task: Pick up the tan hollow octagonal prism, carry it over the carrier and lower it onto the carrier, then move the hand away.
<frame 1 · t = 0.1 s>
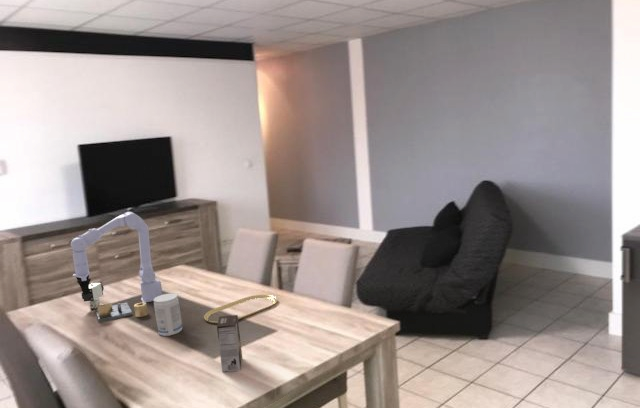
hand: (85, 292, 235), 10 cm above the table, fingers open, 6 cm apart
pneumatic valve: (94, 307, 245), on the table, touching gripper
supplement tub: (170, 332, 207), on the table
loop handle: (241, 311, 225), on the table
carrier: (113, 313, 234), on the table
tan hollow octagonal prism: (141, 314, 229), on the table
coffee box: (232, 365, 173), on the table
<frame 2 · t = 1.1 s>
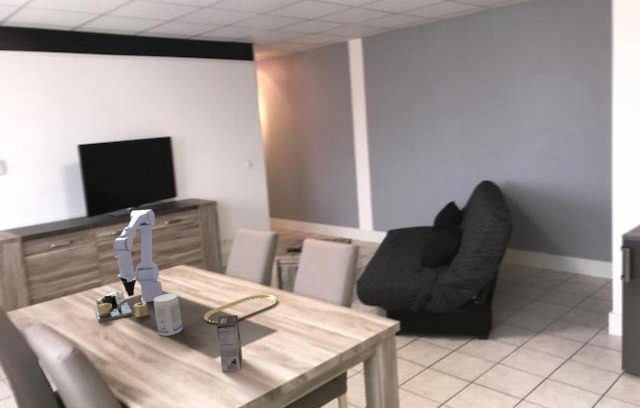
hand: (129, 293, 229), 10 cm above the table, fingers open, 7 cm apart
pneumatic valve: (97, 302, 244), point 2 cm above the table, touching carrier
everything else where it was.
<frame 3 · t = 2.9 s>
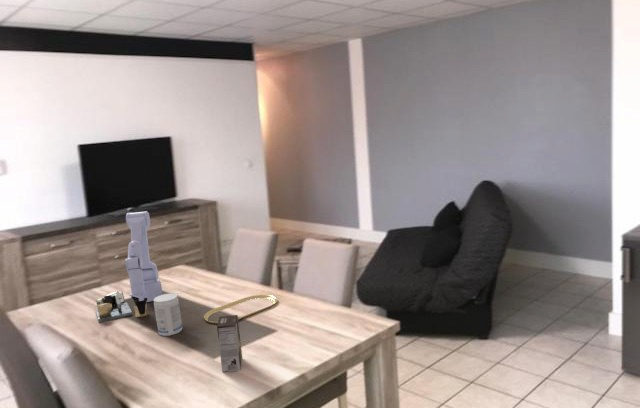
hand: (141, 311, 229), 1 cm above the table, fingers closed on tan hollow octagonal prism, 5 cm apart
tan hollow octagonal prism: (141, 314, 229), on the table, touching gripper
everything else where it was.
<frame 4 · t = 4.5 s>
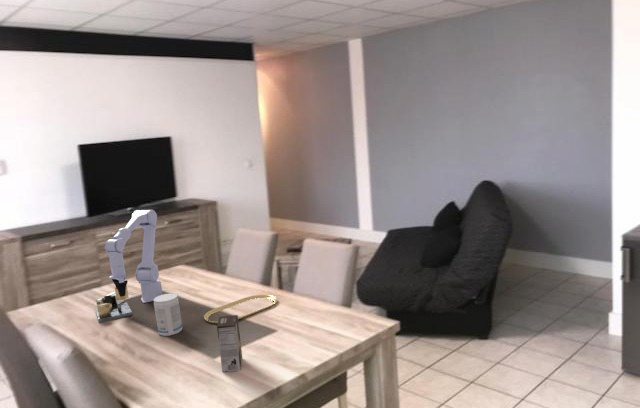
hand: (121, 294, 230), 9 cm above the table, fingers closed on tan hollow octagonal prism, 5 cm apart
tan hollow octagonal prism: (122, 298, 230), point 8 cm above the table, touching gripper
everything else where it was.
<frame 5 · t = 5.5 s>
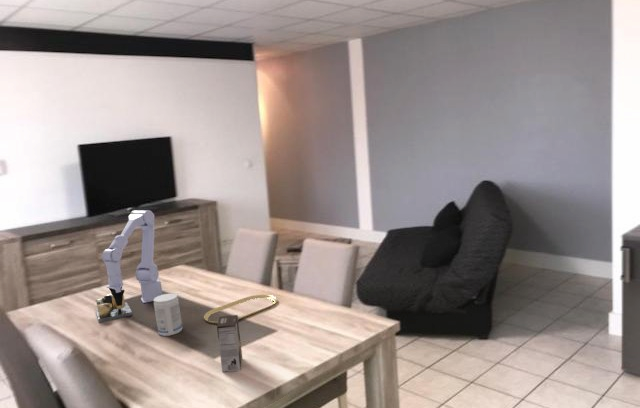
hand: (118, 303, 231), 5 cm above the table, fingers closed on tan hollow octagonal prism, 5 cm apart
tan hollow octagonal prism: (119, 307, 232), point 3 cm above the table, touching gripper
everything else where it was.
when the fingers open (4 cm above the table, at t = 6.1 s): tan hollow octagonal prism drops 1 cm, resting on carrier.
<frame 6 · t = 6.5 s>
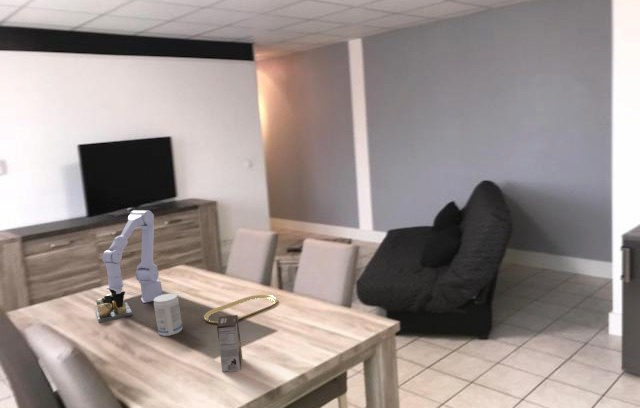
hand: (119, 304, 231), 4 cm above the table, fingers open, 7 cm apart
tan hollow octagonal prism: (120, 310, 232), point 1 cm above the table, touching carrier
everything else where it was.
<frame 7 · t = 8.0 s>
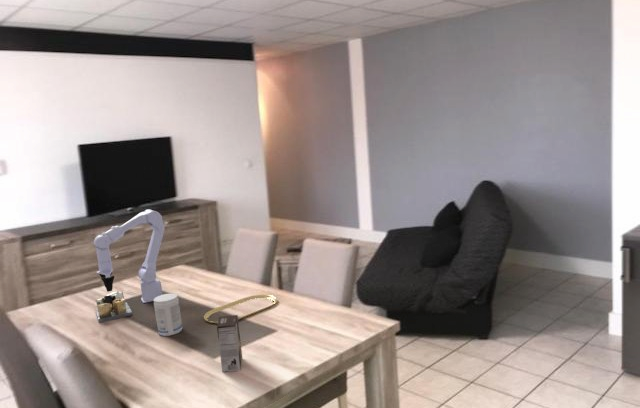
hand: (108, 289, 238), 10 cm above the table, fingers open, 7 cm apart
nothing on the table moved.
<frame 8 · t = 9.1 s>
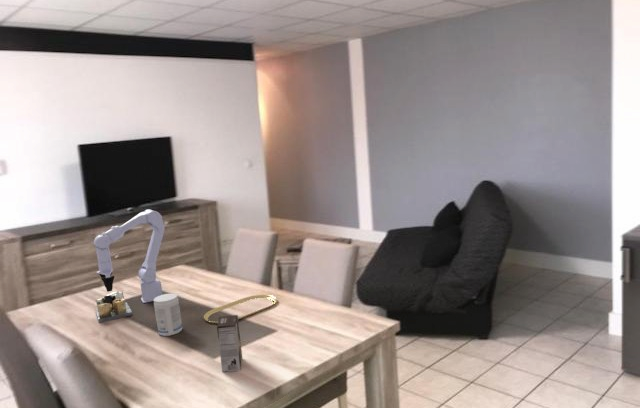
hand: (108, 289, 238), 10 cm above the table, fingers open, 7 cm apart
nothing on the table moved.
at the end: tan hollow octagonal prism 0.1 cm from the target spot on the carrier, point 1.5 cm above the carrier's base; tan hollow octagonal prism tilted 0°; the gripper is holding nothing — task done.
